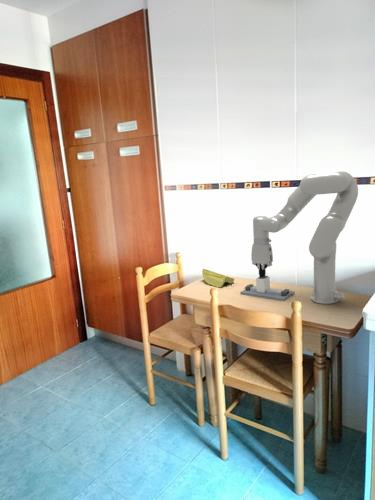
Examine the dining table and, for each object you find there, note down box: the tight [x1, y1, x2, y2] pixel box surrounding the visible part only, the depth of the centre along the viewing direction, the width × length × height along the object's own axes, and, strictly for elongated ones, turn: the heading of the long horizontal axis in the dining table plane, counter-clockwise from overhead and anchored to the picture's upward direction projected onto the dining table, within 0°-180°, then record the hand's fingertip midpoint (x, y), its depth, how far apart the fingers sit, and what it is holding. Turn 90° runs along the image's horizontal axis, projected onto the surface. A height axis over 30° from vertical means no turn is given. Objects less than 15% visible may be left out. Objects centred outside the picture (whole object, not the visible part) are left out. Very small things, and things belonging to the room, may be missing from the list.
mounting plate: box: [239, 287, 295, 302], centre depth 198 cm, size 24×12×1 cm, turn 52°
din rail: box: [244, 283, 290, 296], centre depth 198 cm, size 22×5×2 cm, turn 52°
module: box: [255, 275, 271, 293], centre depth 199 cm, size 4×6×8 cm
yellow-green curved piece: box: [201, 268, 235, 288], centre depth 224 cm, size 20×7×10 cm
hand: (262, 276), depth 198 cm, fingers closed
